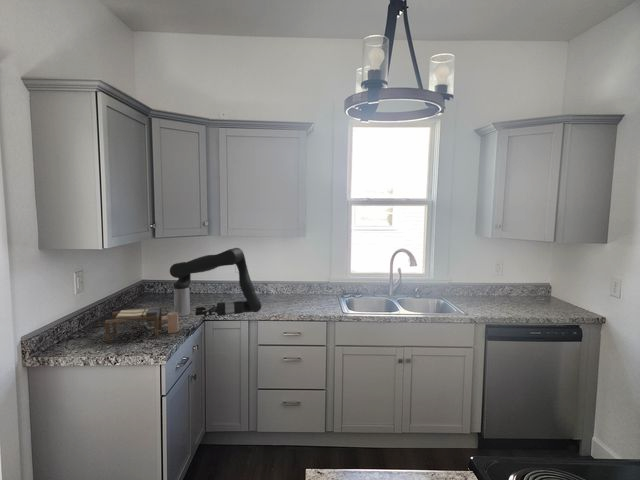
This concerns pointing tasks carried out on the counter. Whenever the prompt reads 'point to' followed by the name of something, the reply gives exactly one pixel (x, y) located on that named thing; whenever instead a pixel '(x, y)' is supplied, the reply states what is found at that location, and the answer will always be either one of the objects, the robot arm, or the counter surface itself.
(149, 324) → the packaged product
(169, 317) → the block
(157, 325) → the wooden legged stool
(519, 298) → the counter surface
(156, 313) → the trapdoor
